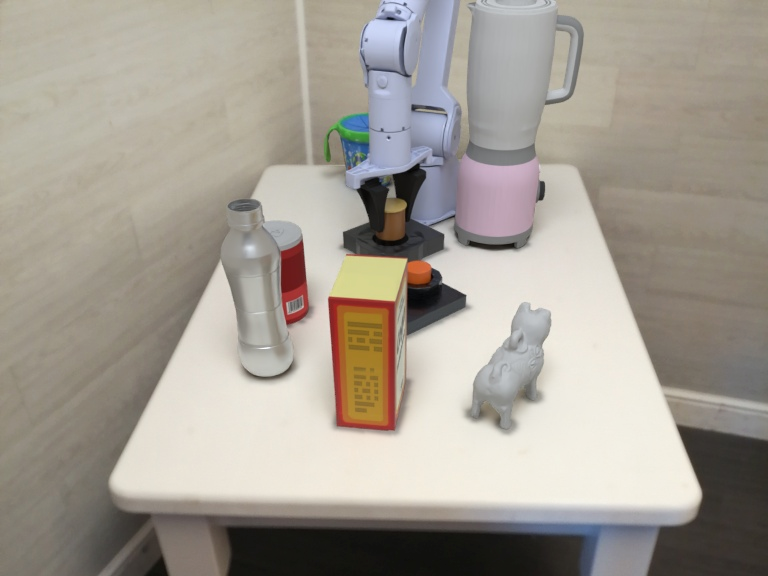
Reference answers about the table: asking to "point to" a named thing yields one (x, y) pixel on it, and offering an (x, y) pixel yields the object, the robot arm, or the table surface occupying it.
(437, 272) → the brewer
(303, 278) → the canned food
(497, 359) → the dog figurine
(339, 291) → the baking soda box
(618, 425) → the table surface
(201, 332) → the table surface
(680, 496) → the table surface
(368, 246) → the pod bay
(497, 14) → the blender
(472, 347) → the table surface
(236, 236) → the plastic bottle
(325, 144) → the snack cup
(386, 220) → the coffee pod
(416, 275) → the button
